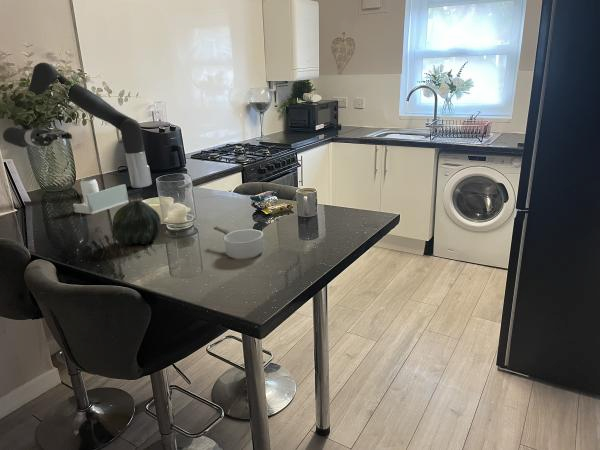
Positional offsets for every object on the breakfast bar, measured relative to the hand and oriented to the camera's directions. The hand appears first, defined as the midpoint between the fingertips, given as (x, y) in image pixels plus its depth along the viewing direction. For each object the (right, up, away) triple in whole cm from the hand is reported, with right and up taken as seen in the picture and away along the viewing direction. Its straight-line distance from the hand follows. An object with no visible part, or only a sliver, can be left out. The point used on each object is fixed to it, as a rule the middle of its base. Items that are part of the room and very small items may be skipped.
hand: (61, 137), depth 190 cm
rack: (+15, -29, +6) cm, 33 cm away
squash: (+47, -42, -41) cm, 76 cm away
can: (+12, -29, +3) cm, 32 cm away
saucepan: (+81, -44, -55) cm, 107 cm away
